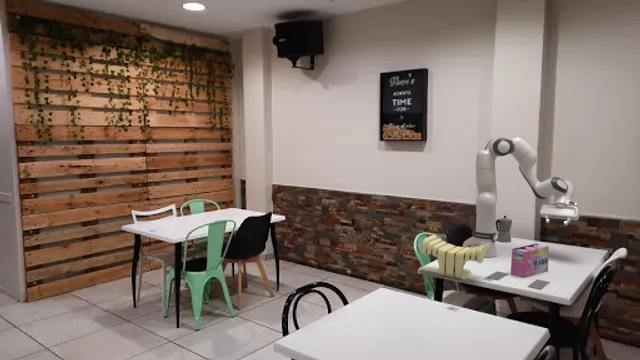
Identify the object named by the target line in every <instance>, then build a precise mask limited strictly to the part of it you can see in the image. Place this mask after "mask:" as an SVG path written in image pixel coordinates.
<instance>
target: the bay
mask: <svg viewBox="0 0 640 360" xmlns="http://www.w3.org/2000/svg"><path fill="white" fill-rule="evenodd" d="M507 275H509V273H507V272H502V271H498V270H496V271H495V272H493V273H491V274H489V275H487V276H486V277H485V278H486V279H490V280H493V279H494V280H495V281H500V280H501V279H503V278H504V277H506V276H507ZM550 283H551V282H550V281H548V280H541V279H536V280H533V282H531V283H530V284H529V285H528V286H527V288H532V289H536V290H542V289H544V288H545V287H546V286H547V285H549V284H550Z"/></svg>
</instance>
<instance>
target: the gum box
mask: <svg viewBox="0 0 640 360" xmlns="http://www.w3.org/2000/svg"><path fill="white" fill-rule="evenodd" d="M549 249H550V247H549V246H548V245H546V246H544V245H540V244H539V243H532V244H527V245H524V246H518V247H515V248H512V249H511V262H510V263H511V264H510V274H511V275H513V276H517V277H520V278H527V277H531V276H534V275H538V274H541V273H545V272H548V271H549Z"/></svg>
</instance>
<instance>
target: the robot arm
mask: <svg viewBox="0 0 640 360" xmlns="http://www.w3.org/2000/svg"><path fill="white" fill-rule="evenodd" d="M509 154H510V155H511V156H513V158H514V159H515V160H516V161H517V162H518V165H519V166H518V168H519V172H520V173H521V175H522V177H523V178H524V180H525V181H526V182H527V184H528V185H529V187H530V188H531V190H532V193H533V194H534V196H535V197H536V198H537V199H540V200H546V199H548V198H550V197H551V196H552V197H553V196H554V199H553V203H543V204H542V205H541V208H540V210H539V216H540V217H541V218H545V223H546V224H550V219H557V220H564V222H563V225H564V226H568V224H570V223H571V221H575V222H576V221H578V220H579V218H580V211H579V204H578V203H577V202H576V201H573V200H572V199H573V197H574V193H575V186H574V184H573V183H572V182H571V181H569V180H563V179H561V178H560V177H559V176H553V177H550V178H548V179H546V180H544V181H539V180H538V179H537V177H536V176H535V174H534V172H533V167H534V166H535V165H536V164H537V161H538V153H537V152H536V150H535V149H534V148H533V147H532V146H531V145H530V144H529V143H528V142H527V141H525V140H524V139H523V138H522V137H520V136H515V137H513V138H511V139H510V138H509V139H508V138H505V137H495V138H492V139H490V140H489V141H488V142H487V143H486V146H485V148H484V149H482V150H479V151H478V152H477V154H476V158H475V173H476V174H475V181H476V188H477V189H476V190H477V197H476V200H475V201H476V203H475V205H476V207H475V209H476V210H475V212H476V220H475V221H476V223H475V230H474V231H472V232H471V235H472V236H471V237H469V238H467V239H466V240H464V241H463V243H462V247H464V248H466V247H473V248H474V247H477V246H481V245H486V244H488V243H490V248H489V249H488V250H487V251H486V253H485V255H484V258H494V257H497V256H498V254H497V249H496V248H497V247H496V241H497V232H496V220H497V217H496V216H497V203H498V191H497V180H496V179H497V178H496V177H497V175H496V159H497V158H498V157H505V156H508V155H509ZM565 220H566V221H565Z"/></svg>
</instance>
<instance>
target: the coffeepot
mask: <svg viewBox="0 0 640 360" xmlns="http://www.w3.org/2000/svg"><path fill="white" fill-rule="evenodd" d="M512 225H513V219H511V218H510V219H509V218H507V215H503V218H502V217H501V218H498V219H496V226H495V230H496V231H497V232H498V233H497V236H496V241H497V242H499V243H504V242H505V243H507V242H509V243H511V242H512V238H511V232H510V231H511V230H512V229H511V228H512Z"/></svg>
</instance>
